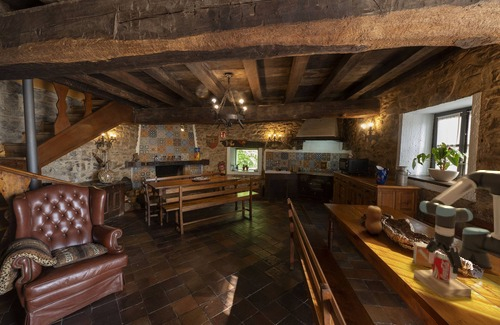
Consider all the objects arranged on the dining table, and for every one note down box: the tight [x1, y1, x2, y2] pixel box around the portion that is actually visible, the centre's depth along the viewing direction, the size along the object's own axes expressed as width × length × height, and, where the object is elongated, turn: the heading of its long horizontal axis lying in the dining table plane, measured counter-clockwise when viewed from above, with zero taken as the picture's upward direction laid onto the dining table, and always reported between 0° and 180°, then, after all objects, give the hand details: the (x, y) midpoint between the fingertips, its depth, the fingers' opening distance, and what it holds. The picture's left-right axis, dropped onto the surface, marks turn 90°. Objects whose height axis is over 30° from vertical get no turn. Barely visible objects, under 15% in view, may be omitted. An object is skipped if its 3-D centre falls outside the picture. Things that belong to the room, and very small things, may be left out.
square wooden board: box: [413, 269, 472, 298], centre depth 107 cm, size 16×16×4 cm
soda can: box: [432, 253, 452, 282], centre depth 106 cm, size 7×7×13 cm
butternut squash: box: [364, 205, 383, 235], centre depth 176 cm, size 14×13×25 cm
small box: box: [412, 241, 432, 269], centre depth 128 cm, size 8×6×13 cm
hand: (441, 270), depth 106 cm, fingers open, 13 cm apart
